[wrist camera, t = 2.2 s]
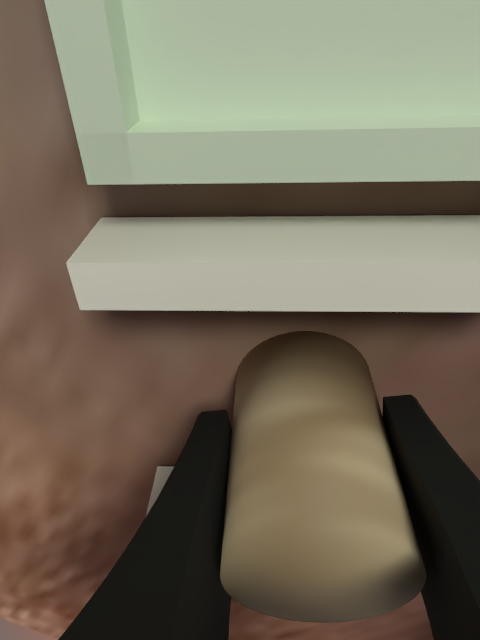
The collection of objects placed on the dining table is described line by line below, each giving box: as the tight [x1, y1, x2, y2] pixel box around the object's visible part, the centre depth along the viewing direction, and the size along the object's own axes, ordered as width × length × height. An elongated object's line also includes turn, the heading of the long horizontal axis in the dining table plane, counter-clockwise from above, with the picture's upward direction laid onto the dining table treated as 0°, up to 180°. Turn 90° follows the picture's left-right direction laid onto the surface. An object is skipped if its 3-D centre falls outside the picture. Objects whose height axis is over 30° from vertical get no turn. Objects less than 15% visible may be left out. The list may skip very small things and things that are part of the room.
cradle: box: [66, 215, 480, 518], centre depth 11 cm, size 9×10×2 cm
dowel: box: [220, 331, 426, 623], centre depth 10 cm, size 4×4×5 cm
